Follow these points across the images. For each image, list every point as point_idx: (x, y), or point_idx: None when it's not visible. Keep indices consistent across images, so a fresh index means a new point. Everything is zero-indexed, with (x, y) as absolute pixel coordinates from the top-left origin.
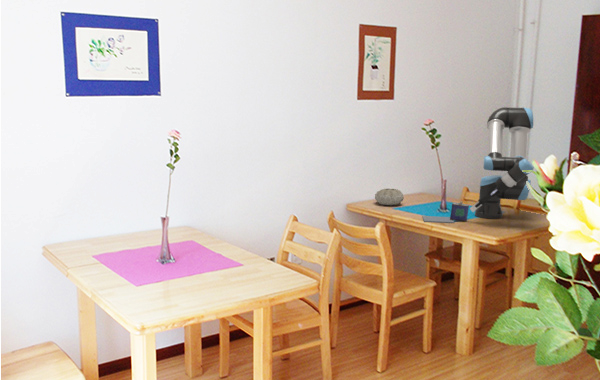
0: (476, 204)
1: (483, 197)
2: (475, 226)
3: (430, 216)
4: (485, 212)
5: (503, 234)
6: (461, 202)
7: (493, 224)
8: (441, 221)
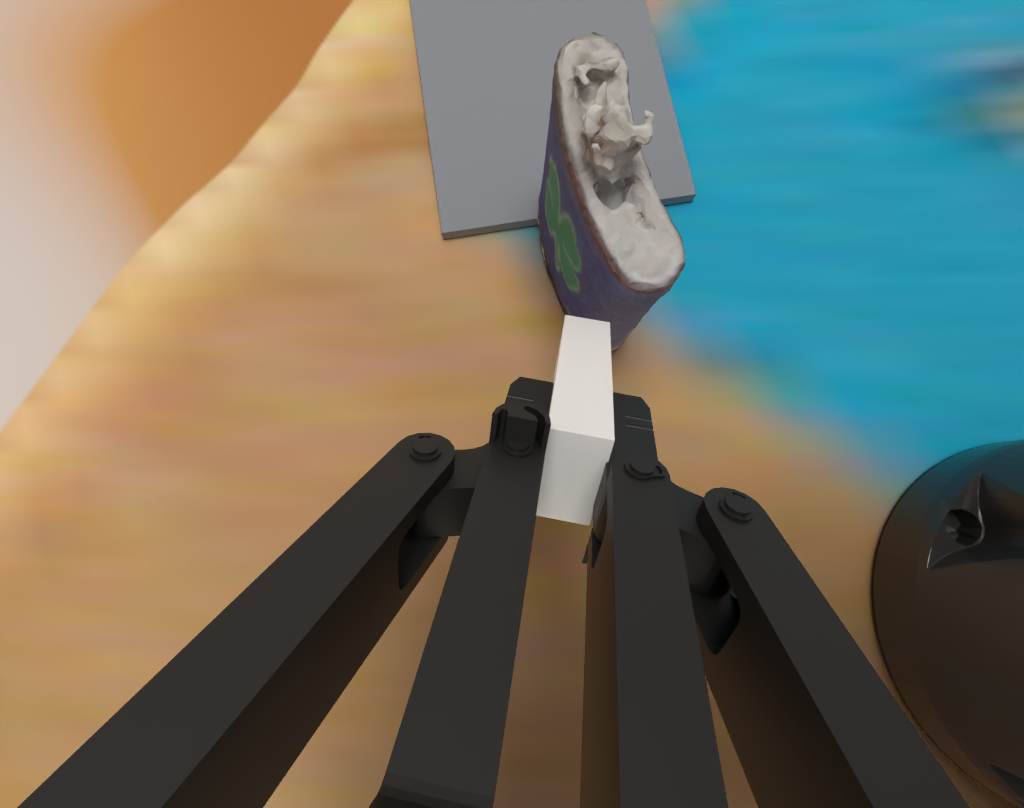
0: (549, 401)
1: (728, 548)
2: (360, 450)
3: (634, 11)
4: (943, 579)
5: (25, 765)
6: (600, 134)
7: (544, 665)
8: (431, 117)
